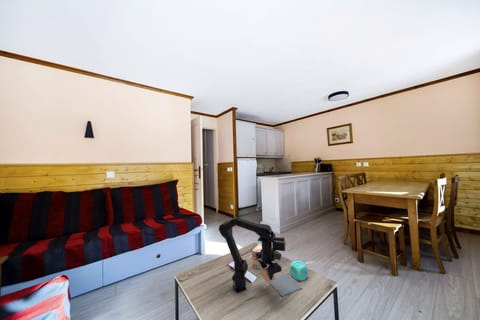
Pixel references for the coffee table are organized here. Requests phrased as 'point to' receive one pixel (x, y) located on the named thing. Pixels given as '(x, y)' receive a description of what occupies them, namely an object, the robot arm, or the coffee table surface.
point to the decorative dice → (298, 270)
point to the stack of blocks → (255, 261)
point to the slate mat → (285, 285)
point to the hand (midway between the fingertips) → (268, 276)
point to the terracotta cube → (266, 275)
